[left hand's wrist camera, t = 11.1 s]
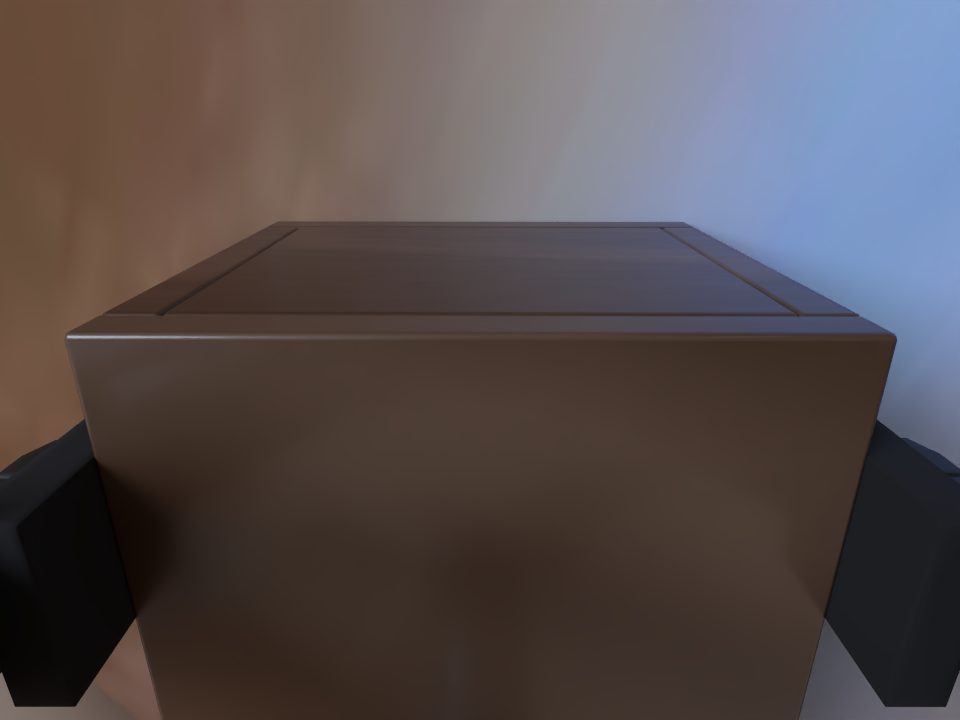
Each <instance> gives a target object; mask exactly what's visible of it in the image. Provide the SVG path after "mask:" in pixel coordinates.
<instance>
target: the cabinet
mask: <svg viewBox="0 0 960 720" xmlns="http://www.w3.org/2000/svg"><path fill="white" fill-rule="evenodd" d="M896 342H897V338H896V335H895V334H894V333H892V332H890V331H888V330H886V329H884V328H882V327H880V326H878V325H876V324H875V323H873V322H871V321H869V320H867V319H865V318H863V317H859V315H858V314H857V313H855V312H853V311H851V310H849V309H847V308H845V307H843V306H842V305H840V304H838V303H836V302H834V301H832V300H830V299H828V298H826V297H824V296H823V295H821V294H819V293H817V292H815V291H813V290H811V289H809V288H807V287H805V286H804V285H802V284H800V283H798V282H796V281H794V280H792V279H790V278H788V277H786V276H785V275H783V274H781V273H779V272H777V271H775V270H773V269H771V268H769V267H768V266H766V265H764V264H762V263H760V262H758V261H756V260H754V259H752V258H750V257H749V256H747V255H745V254H743V253H741V252H739V251H737V250H735V249H733V248H731V247H730V246H728V245H726V244H724V243H722V242H720V241H718V240H716V239H714V238H713V237H711V236H709V235H707V234H705V233H703V232H701V231H699V230H697V229H695V228H693V227H691V226H689V225H688V224H686V223H683V222H276V223H274V224H272V225H270V226H268V227H267V228H265V229H263V230H261V231H259V232H257V233H255V234H253V235H251V236H249V237H247V238H246V239H244V240H242V241H240V242H238V243H236V244H234V245H232V246H230V247H228V248H227V249H225V250H223V251H221V252H219V253H217V254H215V255H213V256H211V257H209V258H208V259H206V260H204V261H202V262H200V263H198V264H196V265H194V266H192V267H190V268H189V269H187V270H185V271H183V272H181V273H179V274H177V275H175V276H173V277H171V278H170V279H168V280H166V281H164V282H162V283H160V284H158V285H156V286H154V287H152V288H151V289H149V290H147V291H145V292H143V293H141V294H139V295H137V296H135V297H133V298H132V299H130V300H128V301H126V302H124V303H122V304H120V305H118V306H116V307H114V308H113V309H111V310H109V311H107V312H105V313H103V315H101V316H98V317H96V318H94V319H92V320H90V321H88V322H87V323H85V324H83V325H81V326H79V327H77V328H75V329H73V330H71V331H69V332H68V333H66V335H65V343H66V347H67V351H68V355H69V359H70V363H71V367H72V370H73V374H74V378H75V382H76V386H77V390H78V394H79V398H80V402H81V406H82V410H83V413H84V417H85V421H86V425H87V429H88V433H89V437H90V441H91V445H92V449H93V453H94V456H95V460H96V464H97V468H98V472H99V476H100V480H101V484H102V488H103V492H104V496H105V499H106V503H107V507H108V511H109V515H110V519H111V523H112V527H113V531H114V535H115V539H116V542H117V546H118V550H119V554H120V558H121V562H122V566H123V570H124V574H125V578H126V582H127V585H128V589H129V593H130V597H131V601H132V605H133V609H134V613H135V617H136V621H137V625H138V629H139V632H140V636H141V640H142V644H143V648H144V652H145V656H146V660H147V664H148V668H149V672H150V675H151V679H152V683H153V687H154V691H155V695H156V699H157V703H158V707H159V711H160V715H161V718H162V720H798V719H799V715H800V712H801V708H802V704H803V700H804V696H805V692H806V689H807V685H808V681H809V677H810V673H811V669H812V665H813V662H814V658H815V654H816V650H817V646H818V642H819V639H820V635H821V631H822V627H823V623H824V619H825V615H826V612H827V608H828V604H829V600H830V596H831V592H832V589H833V585H834V581H835V577H836V573H837V569H838V565H839V562H840V558H841V554H842V550H843V546H844V542H845V539H846V535H847V531H848V527H849V523H850V519H851V515H852V512H853V508H854V504H855V500H856V496H857V492H858V489H859V485H860V481H861V477H862V473H863V469H864V465H865V462H866V458H867V454H868V450H869V446H870V442H871V439H872V435H873V431H874V427H875V423H876V419H877V415H878V412H879V408H880V404H881V400H882V396H883V392H884V389H885V385H886V381H887V377H888V373H889V369H890V365H891V362H892V358H893V354H894V350H895V346H896Z"/></svg>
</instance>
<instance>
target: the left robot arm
mask: <svg viewBox="0 0 960 720" xmlns="http://www.w3.org/2000/svg"><path fill="white" fill-rule="evenodd" d="M135 618H136V617H135V613H134V609H133V605H132V601H131V597H130V593H129V589H128V585H127V582H126V578H125V574H124V570H123V566H122V562H121V558H120V554H119V550H118V546H117V542H116V539H115V535H114V531H113V527H112V523H111V519H110V515H109V511H108V507H107V503H106V499H105V496H104V492H103V488H102V484H101V480H100V476H99V472H98V468H97V464H96V460H95V456H94V453H93V449H92V445H91V441H90V437H89V433H88V429H87V425H86V421H85V419H84V420H83V421H81V422H80V423H79V424H78V425H76V426H75V427H74V428H72V429H71V430H70V431H69V432H67V433H66V434H65V435H63V436H62V437H61V438H60V439H58V440H55V441H53V442H51V443H48V444H46V445H44V446H42V447H40V448H38V449H36V450H34V451H32V452H30V453H27V454H25V455H23V456H21V457H20V458H19V459H17V460H16V461H15V462H13V463H12V464H11V465H9V466H8V467H7V468H5V469H4V470H3V471H1V472H0V673H1V672H2V674H3V676H4V679H5V681H6V684H7V687H8V689H9V692H10V694H11V697H12V700H13V702H14V705H15V707H75V706H76V705H77V703H78V702H79V700H80V699H81V697H82V696H83V695H84V693H85V692H86V690H87V689H88V687H89V686H90V684H91V683H92V681H93V680H94V678H95V677H96V675H97V674H98V672H99V671H100V669H101V668H102V667H103V665H104V664H105V662H106V661H107V659H108V658H109V656H110V655H111V653H112V652H113V650H114V649H115V647H116V646H117V644H118V643H119V642H120V640H121V639H122V637H123V636H124V634H125V633H126V631H127V630H128V628H129V627H130V625H131V624H132V622H133V621H134V619H135ZM825 618H826V620H827V621H828V623H829V624H830V626H831V627H832V629H833V630H834V632H835V633H836V635H837V636H838V638H839V639H840V640H841V642H842V643H843V645H844V646H845V648H846V649H847V651H848V652H849V654H850V655H851V657H852V658H853V660H854V661H855V663H856V664H857V666H858V667H859V668H860V670H861V671H862V673H863V674H864V676H865V677H866V679H867V680H868V682H869V683H870V685H871V686H872V688H873V689H874V691H875V692H876V693H877V695H878V696H879V698H880V699H881V701H882V702H883V704H884V705H885V707H946V705H947V702H948V700H949V697H950V694H951V692H952V689H953V687H954V684H955V681H956V679H957V676H958V673H959V671H960V469H959V468H958V467H957V466H955V465H954V464H953V463H951V462H950V461H949V460H947V459H946V458H945V457H943V456H942V455H941V454H939V453H937V452H935V451H932V450H930V449H928V448H926V447H924V446H922V445H920V444H918V443H915V442H913V441H911V440H909V439H907V438H900V437H899V436H897V435H896V434H895V433H893V432H892V431H891V430H890V429H888V428H887V427H886V426H884V425H883V424H882V423H881V422H879V421H878V420H877V419H876V423H875V427H874V431H873V435H872V439H871V442H870V446H869V450H868V454H867V458H866V462H865V465H864V469H863V473H862V477H861V481H860V485H859V489H858V492H857V496H856V500H855V504H854V508H853V512H852V515H851V519H850V523H849V527H848V531H847V535H846V539H845V542H844V546H843V550H842V554H841V558H840V562H839V565H838V569H837V573H836V577H835V581H834V585H833V589H832V592H831V596H830V600H829V604H828V608H827V612H826V615H825Z"/></svg>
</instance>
